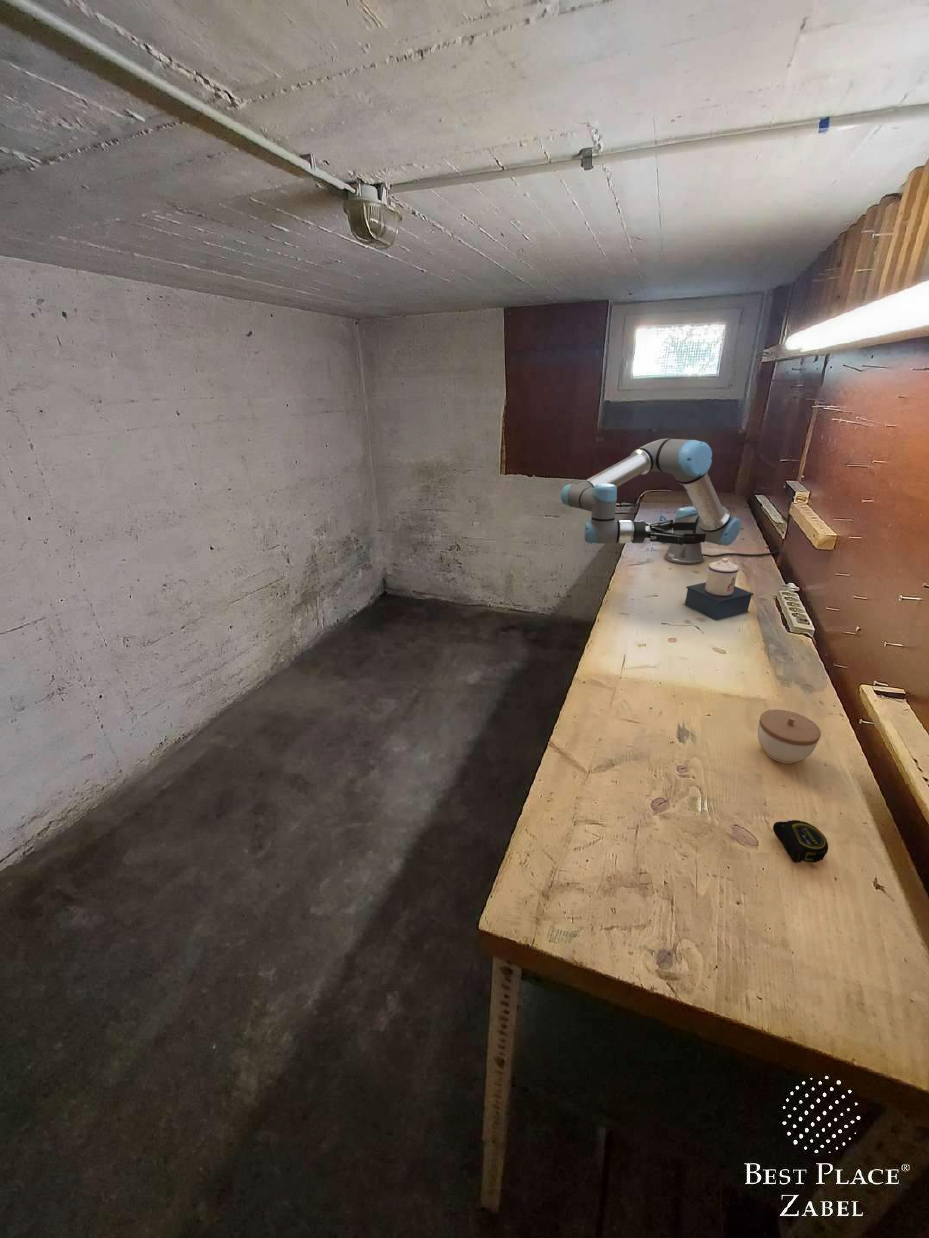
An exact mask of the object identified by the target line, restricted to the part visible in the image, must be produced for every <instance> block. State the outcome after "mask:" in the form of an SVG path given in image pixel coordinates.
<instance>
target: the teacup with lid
mask: <svg viewBox="0 0 929 1238" xmlns="http://www.w3.org/2000/svg"><path fill="white" fill-rule="evenodd" d="M739 571H740V569H739V566H738V565H737V564H735V563H733V562H731V561H730V560H729V558H727V557H723V558H721V560H718V561H713V562H710V563H709V564H708V570H707V576H706V581H705V582H706V586H705V590H706V591H707V592H708V593H710V594H713V595H718V596H727V595H731V594H732V593H733V590H734V586H736V580H737V576H738V572H739Z"/></svg>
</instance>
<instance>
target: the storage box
mask: <svg viewBox="0 0 929 1238" xmlns="http://www.w3.org/2000/svg"><path fill="white" fill-rule="evenodd" d="M705 586H706V581H705V582H701V583H696V584H691V585H687V586H686V595H685V601H684V605H685V606H687V607H688V608H691V609H693V610H695V611H697V612H699V613H701V614H703V615H705V616H707V617H709V618H711V619H713V620H715V621H718V620H721V619H725V618H729V617H730V618H731V617H734V616H738V615H742V614H745V613H746V614H747V613H749V608H750V603H751V600H752V596H754V593H753V592H751V591H748V590H745V589H743V588H741V587H739V586H736V585H735V586H734V590H733V593H732V594H731V595H727V596H718V595H713V594H710V593H708V592H707V591H706V590H705Z"/></svg>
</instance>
